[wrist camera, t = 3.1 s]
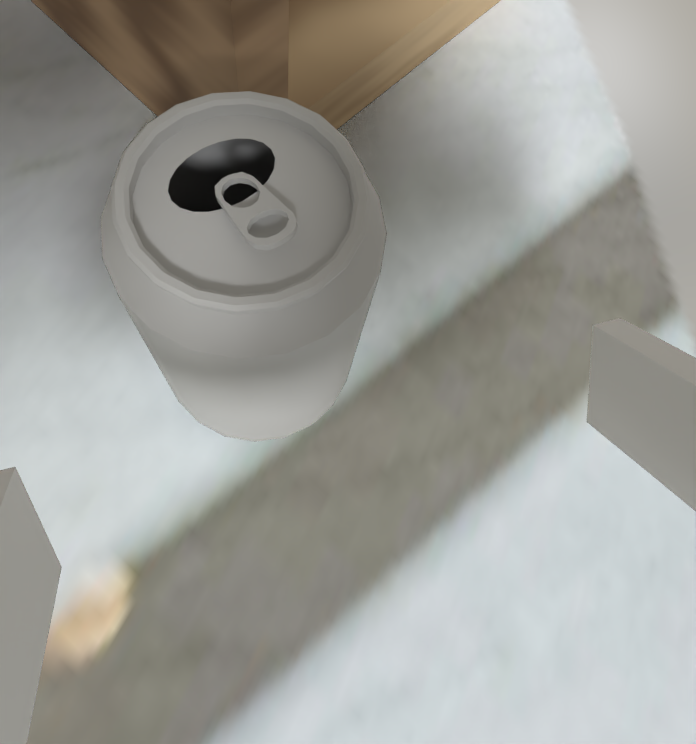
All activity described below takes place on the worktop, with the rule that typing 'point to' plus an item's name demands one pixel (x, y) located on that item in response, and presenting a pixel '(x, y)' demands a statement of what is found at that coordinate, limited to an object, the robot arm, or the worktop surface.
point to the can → (245, 258)
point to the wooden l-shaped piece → (263, 46)
